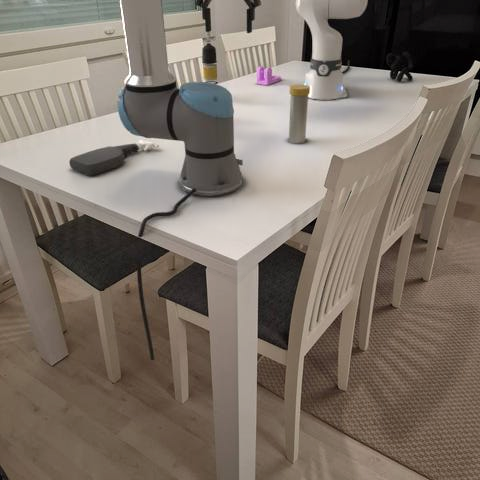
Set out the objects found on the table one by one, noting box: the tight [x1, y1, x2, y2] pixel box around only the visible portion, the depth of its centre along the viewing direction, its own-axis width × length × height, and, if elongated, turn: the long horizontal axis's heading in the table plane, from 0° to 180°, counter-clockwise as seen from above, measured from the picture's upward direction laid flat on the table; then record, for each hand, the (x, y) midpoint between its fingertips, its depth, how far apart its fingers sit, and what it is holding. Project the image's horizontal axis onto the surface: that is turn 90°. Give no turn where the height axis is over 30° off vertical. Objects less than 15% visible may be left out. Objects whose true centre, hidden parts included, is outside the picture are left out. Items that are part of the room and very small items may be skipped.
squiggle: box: [385, 51, 414, 83], centre depth 198 cm, size 11×10×15 cm
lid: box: [289, 84, 310, 96], centre depth 128 cm, size 6×6×2 cm
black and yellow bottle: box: [201, 31, 219, 85], centre depth 171 cm, size 6×6×30 cm
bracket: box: [256, 66, 282, 86], centre depth 200 cm, size 13×6×7 cm, turn 143°
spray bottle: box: [68, 139, 160, 177], centre depth 124 cm, size 3×11×24 cm
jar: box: [288, 94, 309, 144], centre depth 132 cm, size 5×5×16 cm
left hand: (228, 32), depth 139 cm, fingers open, 13 cm apart
